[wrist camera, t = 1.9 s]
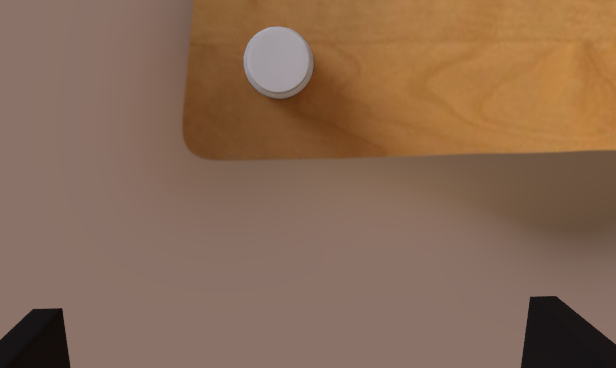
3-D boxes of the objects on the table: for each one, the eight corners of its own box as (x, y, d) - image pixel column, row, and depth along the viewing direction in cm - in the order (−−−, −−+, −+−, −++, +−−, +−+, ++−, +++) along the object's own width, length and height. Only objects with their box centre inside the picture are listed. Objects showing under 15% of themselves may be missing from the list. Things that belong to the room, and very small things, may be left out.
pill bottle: (301, 105, 37) (305, 108, 29) (244, 89, 36) (231, 88, 28) (316, 46, 36) (325, 32, 28) (258, 30, 36) (249, 10, 27)
